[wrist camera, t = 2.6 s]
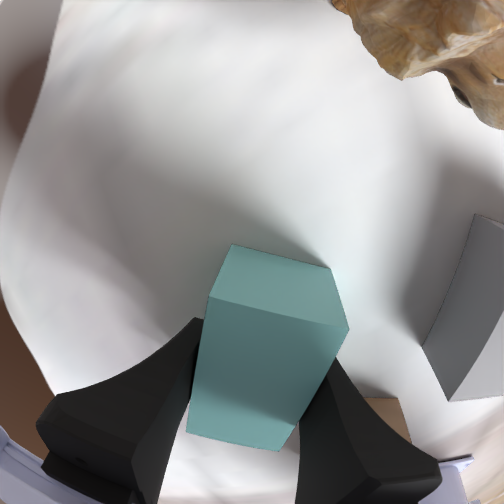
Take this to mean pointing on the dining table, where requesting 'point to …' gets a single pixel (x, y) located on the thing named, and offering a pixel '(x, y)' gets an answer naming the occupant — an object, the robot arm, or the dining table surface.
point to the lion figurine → (439, 45)
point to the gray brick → (472, 320)
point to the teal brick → (263, 348)
